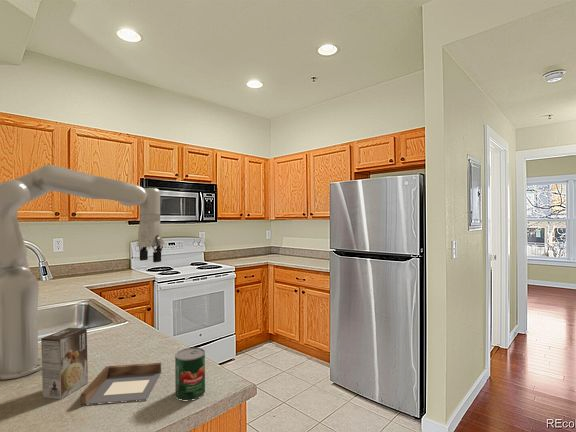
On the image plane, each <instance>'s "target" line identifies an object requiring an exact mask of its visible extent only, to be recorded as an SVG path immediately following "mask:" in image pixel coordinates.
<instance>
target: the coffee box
mask: <svg viewBox="0 0 576 432" xmlns="http://www.w3.org/2000/svg"><path fill="white" fill-rule="evenodd" d="M87 329H88V328H85V327H84V328H83V327H82V328H81V327H67V328H65V329H62V330H59V331H57V332H55V333H51V334H50V335H47V336H44V337H41V359H42V368H41V375H42V376H41V381H42V382H41V383H42V384H41V385H42V387H41V388H42V398H45V399H46V398H47V399H56V400H57V399H58V400H62V399H65V398H66V397H67V396H69V395H71V394H72V393H74V392H75V391H77V390H78V389H80V388H82V387H83V386H85V385H86V384H89V378H88V377H89V371H88V370H89V369H88V368H89V367H88V330H87Z"/></svg>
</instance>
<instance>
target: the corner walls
mask: <svg viewBox="0 0 576 432" xmlns="http://www.w3.org/2000/svg"><path fill="white" fill-rule="evenodd" d="M150 373H160V375H161V374H162V362H151V363H135V364H133V363H132V364H120V365H118V364H117V365H107V366H104V368H103V369H102V370H101V371H100V372H99V374H98V375H97V376H96V377H95V378H94V379H93V380H92V381H91V382H90V383H89V384H88V385H87V386H86V388H85V389H84V390H83V391H82V392H81V393H80V405H84V406H87V405H86V403H87V402H88V401H89V400H90V398H91V397H92V396H93V395H94V394H95V392H96V391H97V390H98V389H99V388H100V387H101V385H102V384H103V383H104V382H105V381H106V379H107V378H108V377H109V376H121V375H135V374H150Z"/></svg>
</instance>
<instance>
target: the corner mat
mask: <svg viewBox="0 0 576 432" xmlns="http://www.w3.org/2000/svg"><path fill="white" fill-rule="evenodd" d="M160 375H161V374H160V373H150V374H135V375H121V376H109V377H108V378H107V379H106V381H105V382H104V383H103V384H102V385H101V387H100V388H99V389H98V390H97V391H96V392H95V394H94V395H93V396H92V397H91V398H90V400H89V401H88V402H87V403H86V405H85V406H88V405H87V404H97V405H99V404H98V403H108V402H121V401H135V402H140V401H139V400H146V399H147V400H148V398H149V397H150V395H151V393H152V391H153V389H154V388H155V385H156V384H157V381H158V379H159V378H160ZM150 392H151V393H150ZM149 394H150V395H149ZM136 400H137V401H136ZM147 400H146V401H147Z"/></svg>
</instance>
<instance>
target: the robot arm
mask: <svg viewBox="0 0 576 432" xmlns="http://www.w3.org/2000/svg"><path fill="white" fill-rule="evenodd" d="M51 192H56V193H62V194H66V195H71V196H75V197H81V198H85V199H93V200H108V201H109V200H110V201H116V202H119V203H120V204H121V205H122V206H127V207H133V206H139V215H140V216H139V225H138V237H137V246H138V251H139V261H140V262H141V261H147V260H149V258H148V257H149V256H148V253H149V250H148V248H152V249H153V252H152V262H153V263H161V262H162V252H163V248H164V243H165V241H164V239H162V229H161V226H162V225H161V190H160V189H158V188H156V187H142V186H141V185H137V184H135V183H131V182H127V181H123V180H118V179H114V178H108V177H104V176H100V175H95V174H89V173H85V172H82V171H77V170H75V169H74V170H73V169H70V168H67V167H63V166H59V165H54V164H46V165H43V166H40V167H39V168H37V169H35V170H34V171H31V172H29V173H26V174H24V175H21V176H19V177H17V178H14V179H10V180H9V179H8V180H5V181H3V182H1V183H0V380H4V381H5V380H12V379H17V378H21V377H25V376H28V375H31V374H33V373H36V372H37V371H39V370H42V358H39V328H38V327H39V325H38V324H39V323H38V320H39V319H38V316H39V315H38V304H39V292H40V291H39V289H40V288H39V280H38V279H37V277H36V275H35V274H33V273H32V272H31V268H30V266H29V262H28V258H27V254H28V249H27V246H26V243H25V241H24V238H23V236H22V233H21V229H20V224H19V221H18V212H19V209H20V208H21V207H22V206H25V205H26V204H28V203H30V202H31V201H35V200H37V199H39V198H40V197H43V196H45V195H46V194H49V193H51Z"/></svg>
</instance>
